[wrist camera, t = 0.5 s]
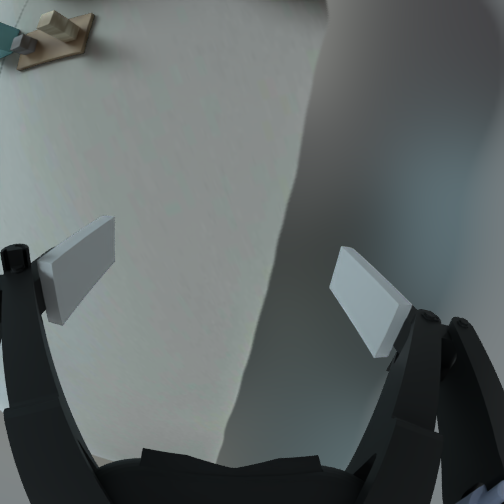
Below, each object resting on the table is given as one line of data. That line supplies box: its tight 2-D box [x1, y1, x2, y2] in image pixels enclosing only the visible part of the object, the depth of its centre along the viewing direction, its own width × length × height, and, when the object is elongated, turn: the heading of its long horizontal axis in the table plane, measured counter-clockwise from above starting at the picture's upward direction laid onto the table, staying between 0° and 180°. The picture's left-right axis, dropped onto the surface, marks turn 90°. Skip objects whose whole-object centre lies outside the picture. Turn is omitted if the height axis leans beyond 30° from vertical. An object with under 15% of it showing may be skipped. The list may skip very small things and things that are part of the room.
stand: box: [10, 10, 94, 71], centre depth 23 cm, size 8×16×10 cm, turn 84°
